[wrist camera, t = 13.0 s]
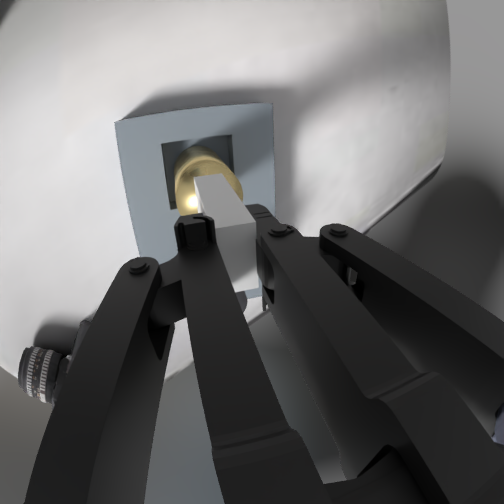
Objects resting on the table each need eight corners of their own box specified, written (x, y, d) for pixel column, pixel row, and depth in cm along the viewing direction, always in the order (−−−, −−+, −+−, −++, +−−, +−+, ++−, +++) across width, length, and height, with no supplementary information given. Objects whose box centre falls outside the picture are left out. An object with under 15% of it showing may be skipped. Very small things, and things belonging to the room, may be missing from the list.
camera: (27, 301, 26) (-1, 365, 18) (112, 325, 31) (105, 397, 22) (33, 375, 31) (20, 431, 23) (101, 393, 35) (99, 452, 27)
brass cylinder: (170, 150, 23) (170, 172, 16) (218, 142, 23) (239, 160, 17) (178, 195, 25) (182, 235, 18) (223, 186, 25) (246, 222, 19)
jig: (120, 119, 21) (99, 128, 14) (261, 102, 24) (298, 105, 17) (156, 297, 30) (158, 352, 23) (266, 277, 33) (293, 325, 26)
